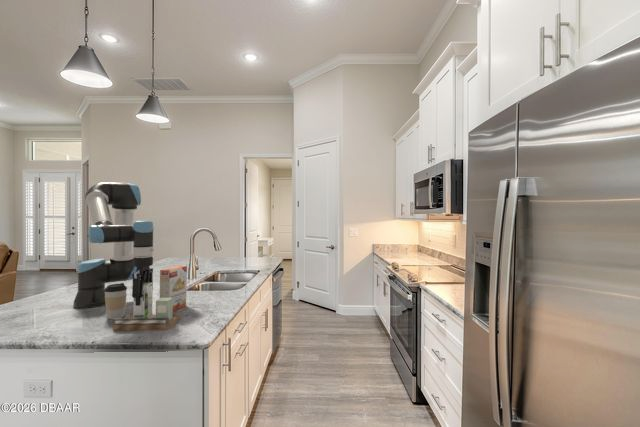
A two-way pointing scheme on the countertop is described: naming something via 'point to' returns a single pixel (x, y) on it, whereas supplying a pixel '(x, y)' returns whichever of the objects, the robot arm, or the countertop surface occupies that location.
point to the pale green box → (164, 308)
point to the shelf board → (145, 323)
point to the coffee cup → (115, 300)
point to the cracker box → (174, 285)
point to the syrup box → (145, 302)
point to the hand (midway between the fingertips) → (142, 310)
